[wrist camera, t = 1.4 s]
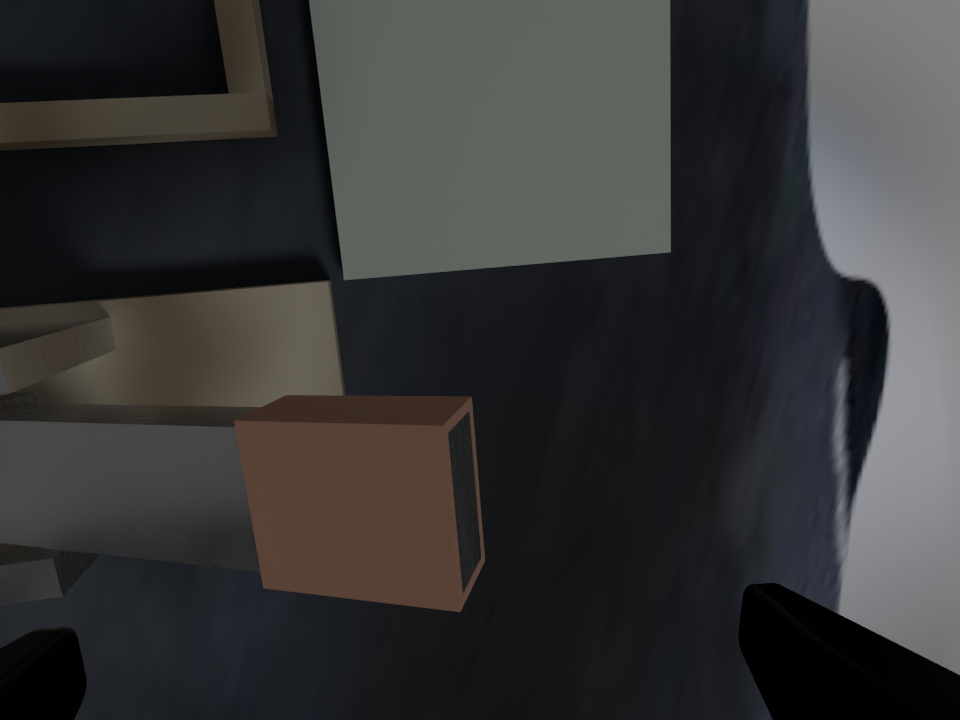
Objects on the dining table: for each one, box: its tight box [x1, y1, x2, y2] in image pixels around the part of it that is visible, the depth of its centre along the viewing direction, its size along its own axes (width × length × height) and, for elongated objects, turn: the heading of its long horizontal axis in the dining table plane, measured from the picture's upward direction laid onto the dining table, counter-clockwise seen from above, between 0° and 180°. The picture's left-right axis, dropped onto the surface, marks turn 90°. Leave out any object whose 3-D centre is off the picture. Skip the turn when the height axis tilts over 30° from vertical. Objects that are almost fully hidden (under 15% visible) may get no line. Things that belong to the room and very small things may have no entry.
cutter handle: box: [0, 392, 485, 612], centre depth 13 cm, size 17×3×3 cm, turn 95°
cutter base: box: [0, 280, 346, 606], centre depth 16 cm, size 12×7×6 cm, turn 94°
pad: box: [309, 0, 671, 280], centre depth 18 cm, size 11×13×1 cm
